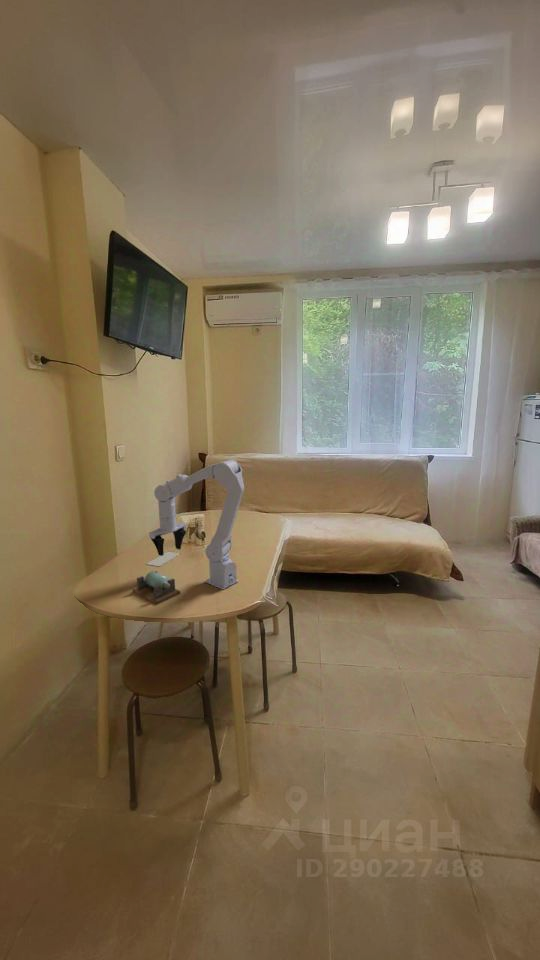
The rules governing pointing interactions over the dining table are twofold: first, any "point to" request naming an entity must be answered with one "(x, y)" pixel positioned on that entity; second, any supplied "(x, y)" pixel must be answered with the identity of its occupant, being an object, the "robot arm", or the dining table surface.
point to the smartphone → (163, 559)
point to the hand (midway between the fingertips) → (169, 551)
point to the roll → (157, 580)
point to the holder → (155, 591)
